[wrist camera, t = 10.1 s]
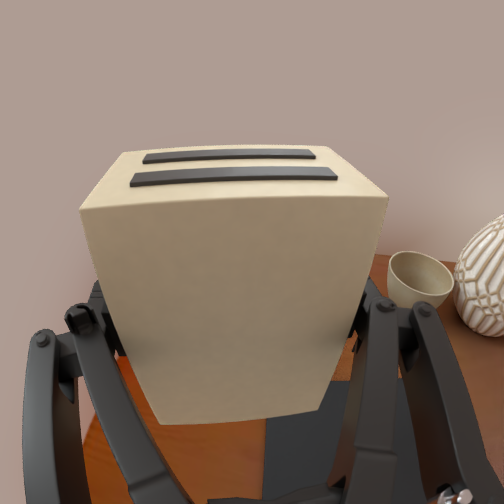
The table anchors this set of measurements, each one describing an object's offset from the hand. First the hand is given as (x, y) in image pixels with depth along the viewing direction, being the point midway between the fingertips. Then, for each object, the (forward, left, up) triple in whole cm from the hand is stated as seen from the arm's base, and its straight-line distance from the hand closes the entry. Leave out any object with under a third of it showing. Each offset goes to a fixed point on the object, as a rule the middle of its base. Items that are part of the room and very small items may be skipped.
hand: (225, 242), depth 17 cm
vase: (+39, -11, -20) cm, 45 cm away
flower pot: (+29, -1, -20) cm, 35 cm away
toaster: (-2, -4, -7) cm, 8 cm away
